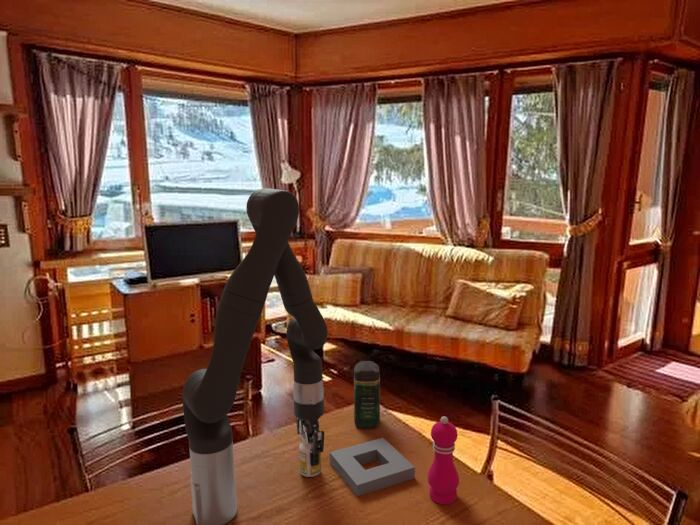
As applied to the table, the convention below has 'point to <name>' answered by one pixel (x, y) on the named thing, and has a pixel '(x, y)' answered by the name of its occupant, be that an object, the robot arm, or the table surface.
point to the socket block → (375, 478)
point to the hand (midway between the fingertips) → (310, 458)
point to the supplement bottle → (307, 459)
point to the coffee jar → (366, 394)
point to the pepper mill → (443, 463)
